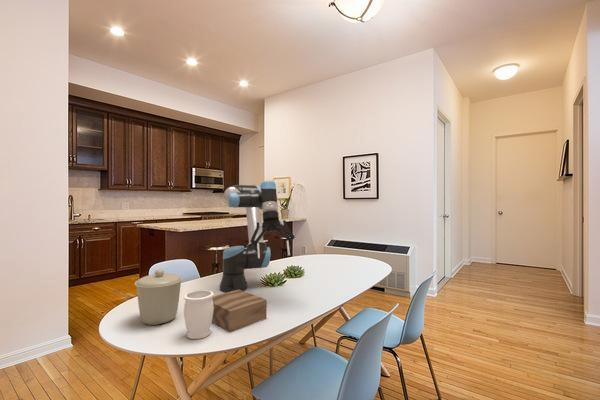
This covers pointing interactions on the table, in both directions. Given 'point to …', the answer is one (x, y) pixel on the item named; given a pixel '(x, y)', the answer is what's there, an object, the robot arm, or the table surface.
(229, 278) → the robot arm
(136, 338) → the table surface
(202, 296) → the jar
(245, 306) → the walnut box
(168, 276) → the canister
